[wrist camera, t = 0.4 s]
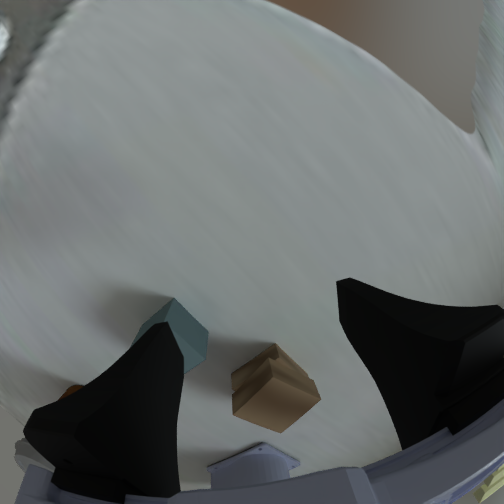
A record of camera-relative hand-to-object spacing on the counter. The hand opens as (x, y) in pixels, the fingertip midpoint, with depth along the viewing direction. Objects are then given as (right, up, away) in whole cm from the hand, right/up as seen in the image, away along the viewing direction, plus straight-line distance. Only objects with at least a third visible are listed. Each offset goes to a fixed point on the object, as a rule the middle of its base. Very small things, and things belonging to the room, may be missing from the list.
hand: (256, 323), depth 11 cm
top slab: (+2, -9, +10) cm, 14 cm away
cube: (-7, -3, +11) cm, 13 cm away
